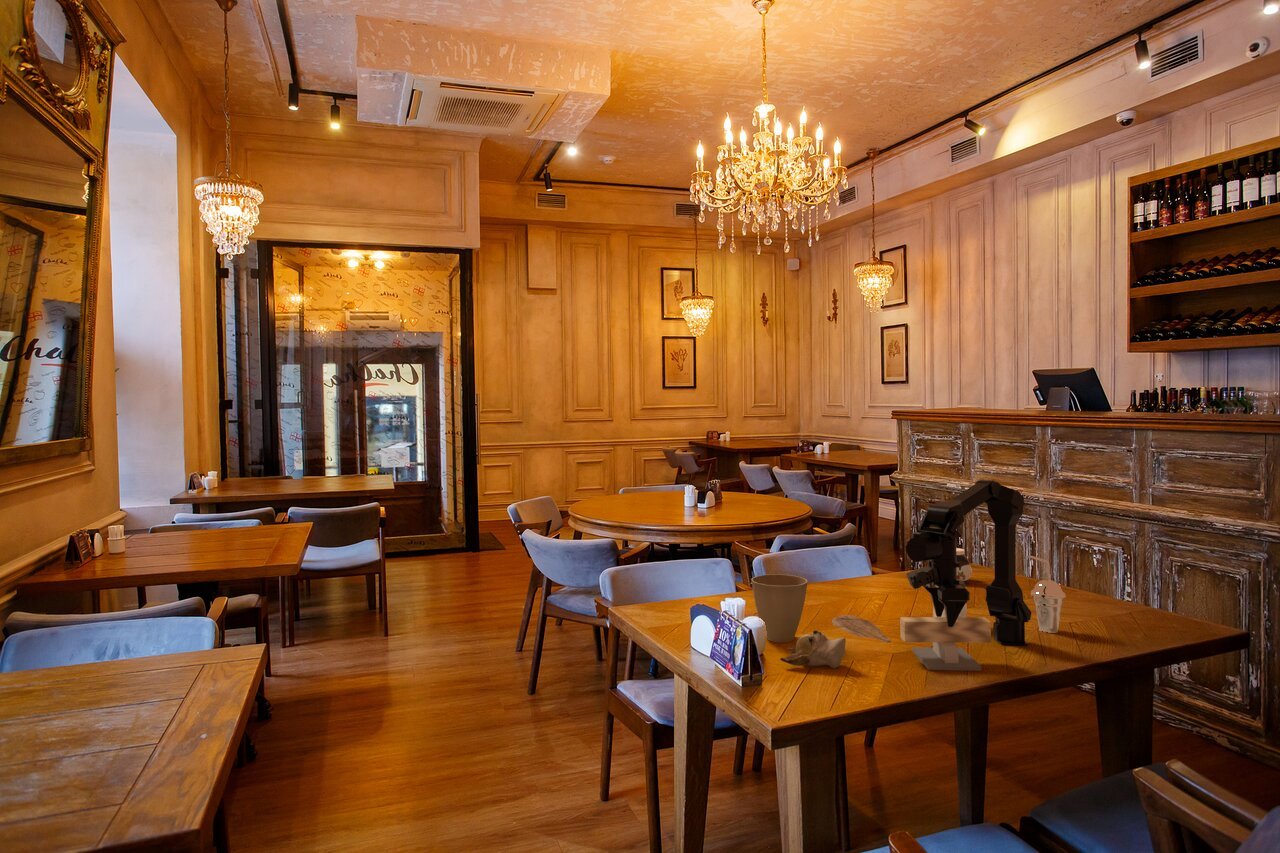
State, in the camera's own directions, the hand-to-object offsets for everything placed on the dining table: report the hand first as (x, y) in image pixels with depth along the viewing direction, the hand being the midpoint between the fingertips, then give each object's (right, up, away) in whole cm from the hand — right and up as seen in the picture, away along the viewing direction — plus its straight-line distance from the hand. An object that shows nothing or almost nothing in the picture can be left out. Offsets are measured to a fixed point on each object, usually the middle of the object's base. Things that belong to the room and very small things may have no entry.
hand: (944, 621), depth 182 cm
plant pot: (-36, -10, +21) cm, 43 cm away
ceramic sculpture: (-32, -11, -1) cm, 33 cm away
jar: (+14, -9, +32) cm, 36 cm away
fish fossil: (-12, -10, +28) cm, 32 cm away
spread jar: (+39, -8, +86) cm, 95 cm away
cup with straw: (+38, -9, +24) cm, 45 cm away
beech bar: (0, -5, 0) cm, 5 cm away
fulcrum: (0, -10, 0) cm, 10 cm away
